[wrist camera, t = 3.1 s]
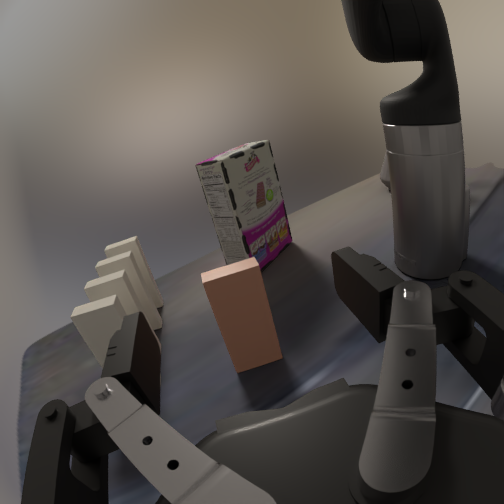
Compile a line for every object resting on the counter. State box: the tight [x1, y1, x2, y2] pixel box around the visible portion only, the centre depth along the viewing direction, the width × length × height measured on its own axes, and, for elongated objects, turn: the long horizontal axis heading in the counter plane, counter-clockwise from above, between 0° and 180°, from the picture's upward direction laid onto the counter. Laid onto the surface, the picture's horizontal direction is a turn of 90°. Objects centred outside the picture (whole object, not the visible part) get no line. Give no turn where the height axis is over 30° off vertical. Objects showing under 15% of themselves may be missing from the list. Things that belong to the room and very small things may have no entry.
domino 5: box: [201, 257, 283, 373], centre depth 26 cm, size 4×2×10 cm, turn 103°
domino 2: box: [95, 251, 162, 330], centre depth 35 cm, size 4×2×10 cm, turn 103°
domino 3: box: [84, 269, 161, 352], centre depth 30 cm, size 4×2×10 cm, turn 103°
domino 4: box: [71, 294, 161, 386], centre depth 26 cm, size 4×2×10 cm, turn 103°
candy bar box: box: [196, 140, 292, 272], centre depth 44 cm, size 11×5×16 cm, turn 146°
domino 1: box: [105, 236, 163, 308], centre depth 39 cm, size 4×2×10 cm, turn 103°
